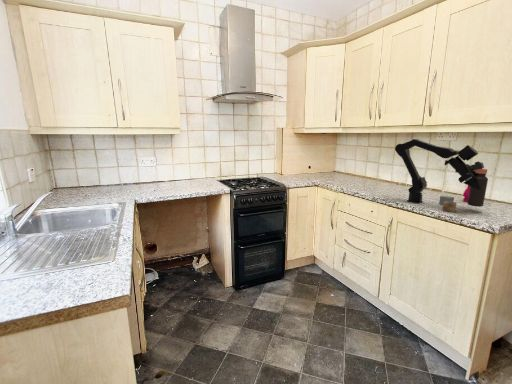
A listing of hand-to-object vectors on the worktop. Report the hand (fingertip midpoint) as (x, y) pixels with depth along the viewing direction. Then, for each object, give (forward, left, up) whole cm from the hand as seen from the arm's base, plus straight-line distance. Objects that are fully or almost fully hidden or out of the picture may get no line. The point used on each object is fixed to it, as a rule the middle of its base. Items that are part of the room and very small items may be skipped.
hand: (481, 188), depth 142 cm
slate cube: (-17, +4, -13) cm, 22 cm away
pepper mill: (-13, +24, -13) cm, 30 cm away
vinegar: (-1, 0, -10) cm, 10 cm away
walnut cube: (-9, -10, -13) cm, 19 cm away
